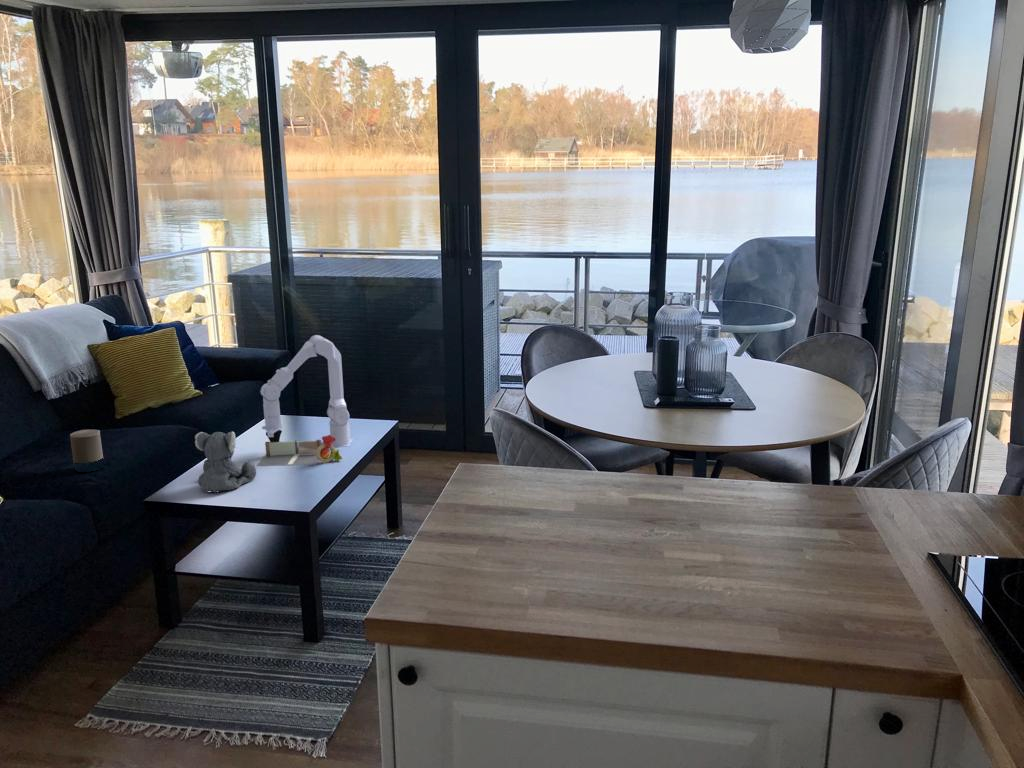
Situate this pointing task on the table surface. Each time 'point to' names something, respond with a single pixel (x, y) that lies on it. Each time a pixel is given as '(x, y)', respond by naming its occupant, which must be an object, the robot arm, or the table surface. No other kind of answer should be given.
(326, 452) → the bird rattle
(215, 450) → the koala plush
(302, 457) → the board
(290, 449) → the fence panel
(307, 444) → the fence fixed section
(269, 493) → the table surface
